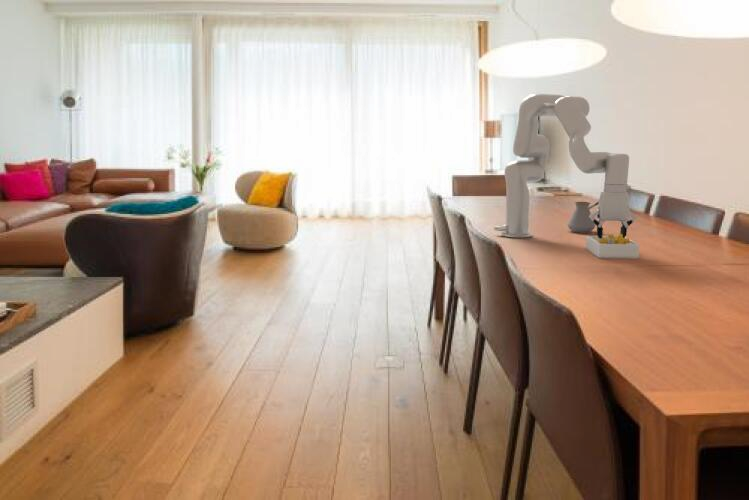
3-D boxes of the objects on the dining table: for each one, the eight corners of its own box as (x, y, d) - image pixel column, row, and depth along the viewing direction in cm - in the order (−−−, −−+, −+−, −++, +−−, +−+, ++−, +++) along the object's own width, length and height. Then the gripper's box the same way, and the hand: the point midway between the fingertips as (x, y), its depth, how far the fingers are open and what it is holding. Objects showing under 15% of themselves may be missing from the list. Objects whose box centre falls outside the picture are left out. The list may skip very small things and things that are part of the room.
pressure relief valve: (599, 251, 221) (629, 249, 218) (599, 246, 210) (631, 244, 207) (598, 236, 222) (628, 234, 219) (598, 231, 211) (629, 228, 208)
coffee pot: (579, 234, 261) (581, 199, 258) (561, 230, 272) (563, 197, 269) (618, 231, 269) (620, 197, 267) (599, 227, 280) (601, 194, 277)
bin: (598, 258, 212) (599, 244, 211) (585, 248, 229) (586, 235, 228) (638, 258, 211) (639, 244, 210) (622, 249, 228) (623, 236, 227)
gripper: (636, 188, 219) (632, 236, 223) (587, 187, 221) (583, 235, 224) (644, 190, 212) (639, 240, 216) (593, 189, 213) (589, 239, 217)
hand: (611, 237), depth 220 cm, fingers open, 7 cm apart
